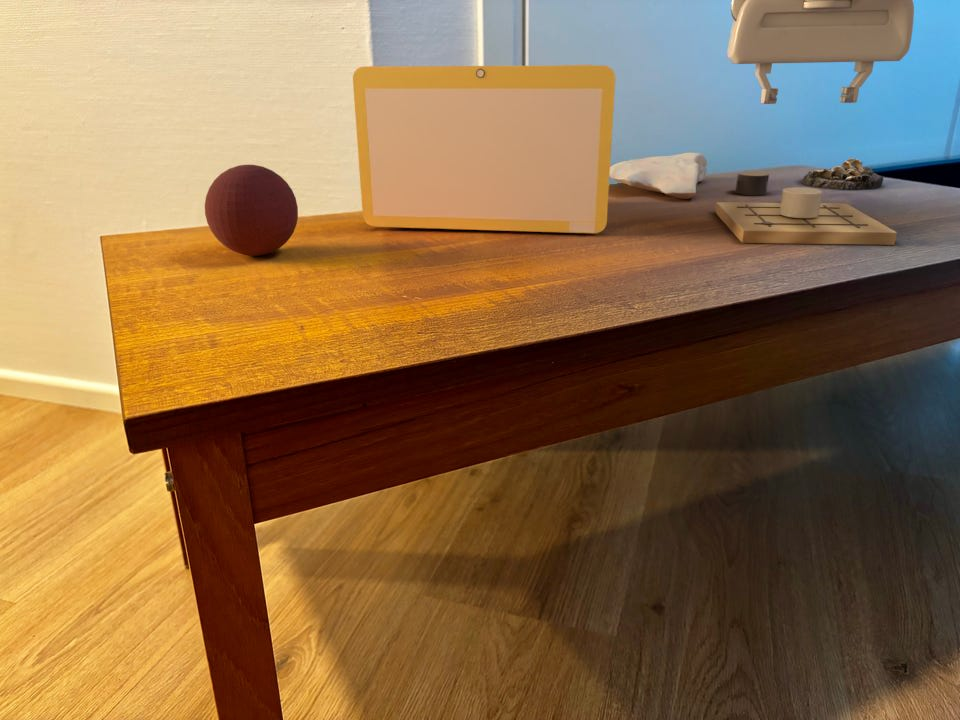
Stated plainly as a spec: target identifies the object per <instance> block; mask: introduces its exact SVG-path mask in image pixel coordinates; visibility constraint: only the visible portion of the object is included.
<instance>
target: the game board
mask: <svg viewBox="0 0 960 720" xmlns="http://www.w3.org/2000/svg"><path fill="white" fill-rule="evenodd" d="M780 205H781V202H736V201H735V202H731V201H730V202H729V201H727V202H725V201H724V202H723V201H720V202H719V201H718V202H716V205H715V215H717V217H718V218H719V219H720V220H721V221H722V222H723V223H724V224H725V226H726V227H727V228H728V229H729V230H730V231H731V233H733V235H734V236H735V237H736V239H738V241H740V243H742V244H783V245H784V244H786V245H787V244H788V245H789V244H792V245H798V244H799V245H863V246H864V245H866V246H867V245H868V246H896V245H895V244H896V240H897V234H898V232H897V231H896V230H893V228H891V227H888V226H886V225H885V224H883V223H882V222H880V221H878V220H876V219H875V218H873V217H872V216H869V215H867V214H866V213H863V212H862V211H860V210H859V209H857V208H855V207H853V206H851V205H850V204H848V203H846V202H842V203H841V202H821V206H820V212H819V216H818V217H815V218H792V217H786V216H783V215H781V214H780V213H779V212H780Z"/></svg>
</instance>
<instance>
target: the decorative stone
mask: <svg viewBox="0 0 960 720" xmlns="http://www.w3.org/2000/svg"><path fill="white" fill-rule="evenodd" d="M707 163H708V161H707V159H706V157H705V156H704V154H703V153H701V152H684V153H678V154H671V155H659V156H657V155H656V156H648V157H644V158H634V159H628V160H623V161H620V162H617V163H615V164H613V165H610V177H609V178H611V179H613V180H614V181H616V182H619V183H622V184H624V185H628V186H630V187H632V188H637V189H642V190H647V191H651V192H657V193H662V194H665V195H666V196H670V197H673V198H677V199H681V200H689V199H690V198H693V197H695V196H696V194H697V185H698V183H700V182H702V181H703V180H704V178H705V177H706V174H707Z"/></svg>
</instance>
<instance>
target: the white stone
mask: <svg viewBox="0 0 960 720" xmlns="http://www.w3.org/2000/svg"><path fill="white" fill-rule="evenodd" d="M823 193H824V191H822V189H821V190H820V189H818V188H813V187H804V186H803V187H801V186H800V187H799V186H793V187H785V188H783V189H782V192H781V199H780V203H781V205H780V212H779V213H780V214H781V215H783V216H786V217H792V218H815V217H818V216H819V212H820V206H821V203H822V201H823V199H822V198H823Z"/></svg>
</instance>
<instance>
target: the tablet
mask: <svg viewBox="0 0 960 720" xmlns="http://www.w3.org/2000/svg"><path fill="white" fill-rule="evenodd" d="M355 69H356V68H355ZM352 87H353V100H354V101H353V102H354V114H355V125H356V126H355V127H356V128H355V129H356V141H357V144H356V145H357V157H358V169H359V170H358V172H359V182H360V183H359V184H360V199H361V211H362V218H363V221H364V222H365V223H366V224H367V225H368V226H370V227H375V228H377V227H379V228H410V229H439V230H440V229H443V230H477V231H503V232H505V231H506V232H507V231H508V232H509V231H510V232H541V233H567V234H568V233H569V234H571V233H572V234H574V233H575V234H599V233H601V232H603V231H604V230H605V228H606V227H607V224H608V223H607V222H608V208H609V207H608V206H609V192H610V178H611V177H610V166H611V161H612V159H611V158H612V139H613V127H614V126H613V125H614V109H615V107H614V106H615V91H616V90H615V89H616V73H615V71H614V70H613V68H612V67H610V66H608V65H603V64H602V65H601V64H600V65H599V64H598V65H596V64H594V65H592V64H555V65H554V64H553V65H550V64H549V65H401V66H400V65H399V66H398V65H396V66H395V65H393V66H392V65H389V66H388V65H387V66H384V65H383V66H382V65H381V66H379V65H378V66H374V65H373V66H367V65H366V66H365V65H364V66H360V67H358V68H357V69H356V70H354V72H353V75H352Z"/></svg>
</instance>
